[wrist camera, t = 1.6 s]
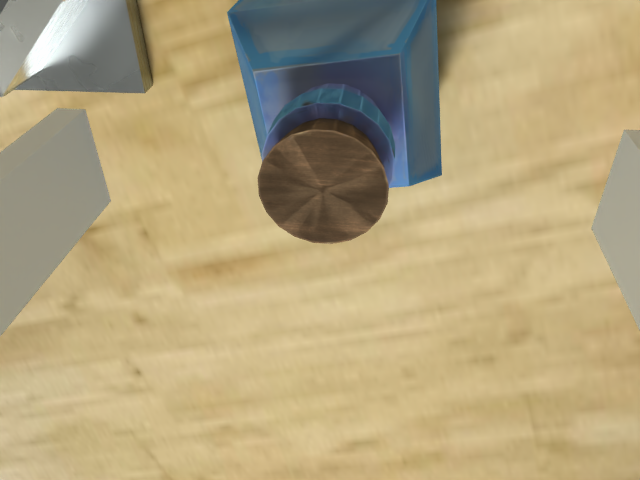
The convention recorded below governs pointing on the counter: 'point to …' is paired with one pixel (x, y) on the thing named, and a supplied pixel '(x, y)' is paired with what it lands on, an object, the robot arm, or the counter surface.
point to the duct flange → (72, 46)
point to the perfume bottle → (339, 107)
